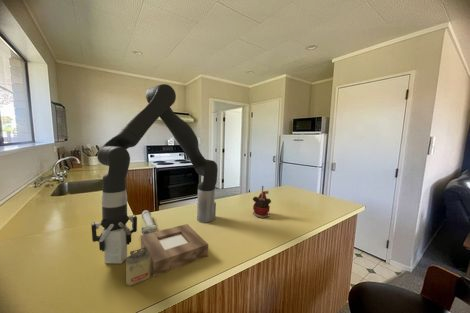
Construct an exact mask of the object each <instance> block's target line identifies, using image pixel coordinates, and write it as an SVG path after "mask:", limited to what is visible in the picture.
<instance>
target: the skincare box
mask: <svg viewBox="0 0 470 313" xmlns="http://www.w3.org/2000/svg"><path fill="white" fill-rule="evenodd" d="M105 231H106V230H105ZM105 231H104V232H105ZM103 252H104V253H103V254H104V255H103V256H104V264H123V262H124V261H126V259H127V257H128V245H127V233H126V232H125V231H124V229H118V230H114V231H110V232H109V233H108V235H107V236H106V237H105V239H104V251H103Z"/></svg>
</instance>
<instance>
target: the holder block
mask: <svg viewBox="0 0 470 313" xmlns="http://www.w3.org/2000/svg"><path fill="white" fill-rule="evenodd" d="M179 234H181V235H182V236H183V237H184V239H185V240H186V241H187V242H188V243H186V244H183V245H179V246H176V247H173V248H170V249H167V250H164V248H163V246H162V245H161V243H160V242H159V240H161V239H164V238H168V237H172V236H175V235H179ZM145 246H146V249H148V251H149V252H150V273H151V275H152V276H153V277H154V278H155V277H156V276H160V275H163V274H165V273H168V272H170V271H174V270H176V269H178V268H181V267H183V266H186V265H188V264H192V263H194V262H197V261H200V260H202V259H204V258H208V257H209V243H208V242H207V241H206V240H204V238H203V237H201V235H200V234H198V232H197V231H195V230H194V229H193V228H192V227H191V226H190V225H189V224H187V223H186V224H182V225H178V226H173V227H169V228H165V229H162V230H157V232H153V233H149V234H145V235H143V234H141V235H140V249H142V248H144V247H145ZM142 250H144V249H142ZM142 250H141V251H142Z"/></svg>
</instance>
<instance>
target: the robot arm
mask: <svg viewBox="0 0 470 313" xmlns="http://www.w3.org/2000/svg"><path fill="white" fill-rule="evenodd" d="M176 95H177V94H176V91H175V90H174V88H173V87H172V86H171V85H169V84H167V83H165V84H164V83H163V84H161V83H160V84H158V85H155V86H152V87H149V88H148V89H147V90H146V92H145V99H146V102H147V103H148V104H147V105H145V107H144V108H142V109H141V110H140V111H138V113H137V114H135V115H133V117H131V118H130V119H129V120H128V121H127V122H126V124H125V125H124V126H122V128H121V129H120V130H119V132H117V134H116V135H115V136H113V137H111V138H110V139H109V140H108V141H106V142H105V143H103V145H102V146H101V147H100V149H99V150H98V151H97V154H96V156H97V158H96V159H97V161H98V162H99V164H101V165H103V166H107V167H108V171H107V173H106V174H104V175H103V176H102V178H101V181H102V182H101V183H102V184H101V186H102V194H101V213H102V214H101V215H102V218H101V221H98V222H94V221H92V223H91V227H90V228H91V238H92V239H91V240H92V242H93V243H95V242H98V245H99V251H101V252H102V253H103V252H104V239H105V237H106V236H107V235H108V233H109V232H110V231H114V230H118V229H124V231H125V232H126V233H127V246H128V245H130V243H132V234H133V233H136V232H138V217H137V215H136V214H133V215H130V216H129V215H128V194H127V180H126V179H127V175H128V172H129V167H130V164H131V163H130V162H131V155H130V153H129V151H128V149H130V148H133V147H136V146H137V145H138V144H139V142H140V141H141V140H142V139H143V137H144V136H145V134H146V133H147V131H149V129H151V127H152V125H153V124H154V123H155V122H156V121H158V119H159V118H160V119H161V121H162V122H163V123H164V124H165V126H166V128H167V129H168V131H169V132H170V133H171V134H172V136H173V138H174V139H175V140H176V143H177V144H178V145H179V147H180V148H181V149H182V150H183V152H184V154H186V156H187V157H188V159H189V161H190V162H191V165H192V167H193V168H194V170H195V172H196V173H197V174H198V175H199V176H202V177H203V180H202V181H201V182H199V183H198V185H197V203H196V204H197V210H196V220H197V221H198V222H200V223H211V222H213V221H214V220H216V213H217V212H216V210H217V208H216V206H217V202H216V201H215V198H216V197H215V196H216V195H215V194H216V185H217V181H218V169H219V168H218V164H217V162H216V161H214V160H211V159H206V158H205V157H204V155H203V154H202V153H201V150H200V148H199V140H198V136H197V135H196V133H195V131H194V130H193V128H192V126H191V125H190V124H188V122H186V121H184V119H182V118H181V117H179V116H178V115H177V114H176V113H175V112H174V111H173V109H172V108H171V107H172V106H173V105H174V103H175V102H176V99H177V97H176ZM129 221H130V222H131V228H129V227H128V226H127V223H129ZM100 226H101V227H102V228H103V230H102V232H101V233H100V235H97V230H98V229H100ZM105 230H106V231H105ZM104 231H105V232H104Z"/></svg>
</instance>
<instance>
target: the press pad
mask: <svg viewBox="0 0 470 313" xmlns="http://www.w3.org/2000/svg"><path fill="white" fill-rule="evenodd" d="M159 242H160V243H161V245H162V246H163V248H164V250H167V249H170V248H173V247H176V246H179V245H183V244H186V243H188V242H187V241H186V240H185V239H184V237H183V236H182V235H181V234H179V235H175V236H172V237H168V238H164V239H161V240H159Z"/></svg>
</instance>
